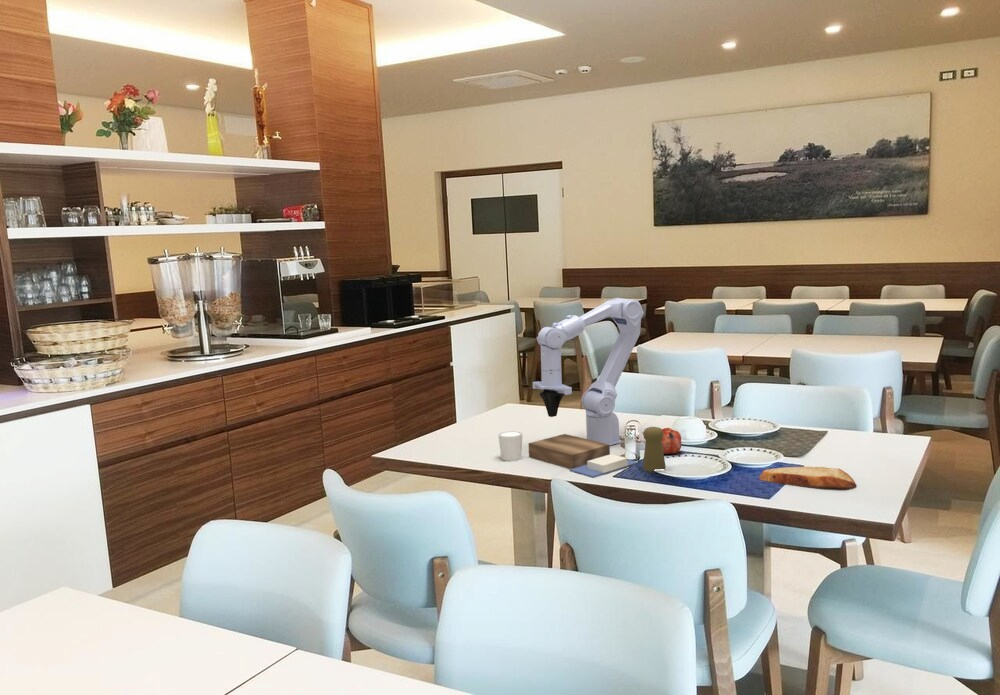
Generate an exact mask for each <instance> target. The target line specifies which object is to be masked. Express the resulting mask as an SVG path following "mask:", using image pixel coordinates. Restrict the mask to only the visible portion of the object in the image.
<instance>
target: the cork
mask: <svg viewBox="0 0 1000 695" xmlns="http://www.w3.org/2000/svg"><path fill="white" fill-rule="evenodd" d="M662 429H663V428H661V427H658V426H647V427H646V428H645V429H644V430H643V439H644V440H645V442H644V445H645V446H644V453H643V460H642V461H643V463H642V470H643V471H646V472H650V473H652V471H653V473H655V472H654V470H655V469H665V468H666V469H667V467H666V460H665V454H664V453H663V447H662V439H663V430H662ZM666 469H665V470H666Z"/></svg>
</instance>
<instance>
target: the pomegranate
mask: <svg viewBox="0 0 1000 695" xmlns="http://www.w3.org/2000/svg"><path fill="white" fill-rule="evenodd" d="M661 429H662V430H663V439H662V447H663V453H664V455H670V454H674V455H675V454H677V453H679V451H681V449H682V435H681V433H680V432H679V431H678V430H674V429H672V428H670V427H665V428H661Z"/></svg>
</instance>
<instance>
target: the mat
mask: <svg viewBox="0 0 1000 695" xmlns="http://www.w3.org/2000/svg"><path fill="white" fill-rule="evenodd" d="M627 461H628V466H625V467H621V468H618V469H615V470H612V471H609V472H605V473H602V472H598V471H595V470H591V469H588V468H587V465H583V466H580V467H577V468H573V469H569V472H572V473H576V474H579V475H581V476H582V475H583V476H585V477H589V478H593V479H594V478H596V477H599V476H603V475H607V474H609V473H614V472H616V471H619V470H622V469H626V468H629V467H633V466H635V465H638V464H639V462H638V461H635V460H631V459H627Z"/></svg>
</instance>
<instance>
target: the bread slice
mask: <svg viewBox="0 0 1000 695" xmlns="http://www.w3.org/2000/svg"><path fill="white" fill-rule="evenodd" d="M758 479H759V481H762V480H763V481H762V482H766V481H768V483H772V482H774V483H773V484H778V483H780V484H779V485H785V486H786V485H787V486H793V487H794V486H796V487H803V488H804V487H805V488H814V489H826V488H827V489H828V490H831V489H835V490H847V489H848V490H849V489H854V488H855V489H856V488H857V487H858V486H857V483H856V482H855V479H854V478H853V477H852V476H850V474H848V473H847V472H846V471H844V470H843V469H841V468H838V467H837V468H833V467H826V466H792V467H791V466H790V467H789V466H788V467H777V468H767V469H765V470H762V472H761V473H760V475H759V477H758ZM827 489H826V490H827Z"/></svg>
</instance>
